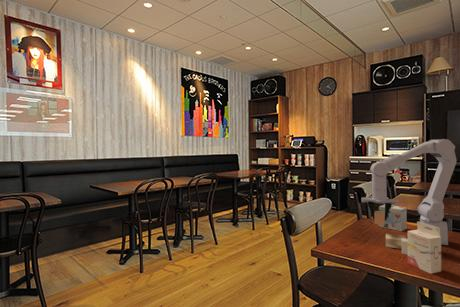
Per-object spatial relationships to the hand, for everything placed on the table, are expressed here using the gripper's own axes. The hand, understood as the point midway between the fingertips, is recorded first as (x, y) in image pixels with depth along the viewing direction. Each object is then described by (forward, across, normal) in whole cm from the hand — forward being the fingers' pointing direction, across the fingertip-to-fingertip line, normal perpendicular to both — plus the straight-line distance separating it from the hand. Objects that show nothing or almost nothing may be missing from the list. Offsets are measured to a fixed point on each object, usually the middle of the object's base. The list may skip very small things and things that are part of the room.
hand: (379, 219), depth 120 cm
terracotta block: (+2, 0, 0) cm, 2 cm away
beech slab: (+9, +6, -7) cm, 13 cm away
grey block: (+9, +10, -14) cm, 19 cm away
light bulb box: (+9, +5, +20) cm, 23 cm away
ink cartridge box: (+9, +14, -26) cm, 31 cm away
